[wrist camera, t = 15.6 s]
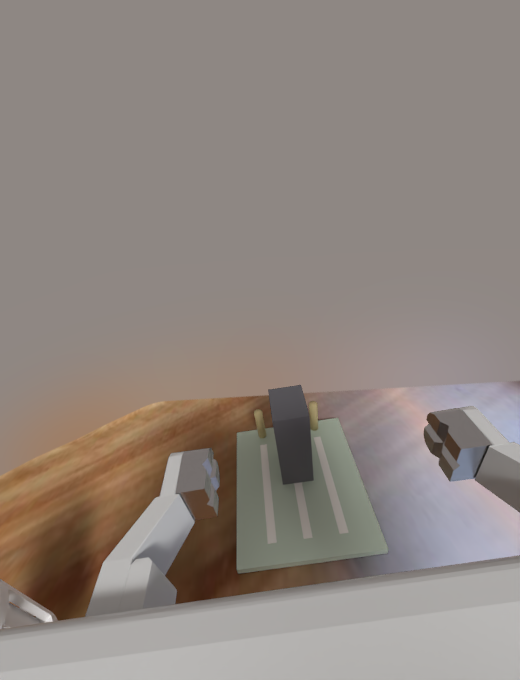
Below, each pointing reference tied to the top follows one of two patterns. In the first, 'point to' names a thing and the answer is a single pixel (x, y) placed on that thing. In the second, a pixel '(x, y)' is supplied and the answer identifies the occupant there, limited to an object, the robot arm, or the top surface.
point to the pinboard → (301, 503)
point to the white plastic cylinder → (20, 609)
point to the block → (292, 434)
